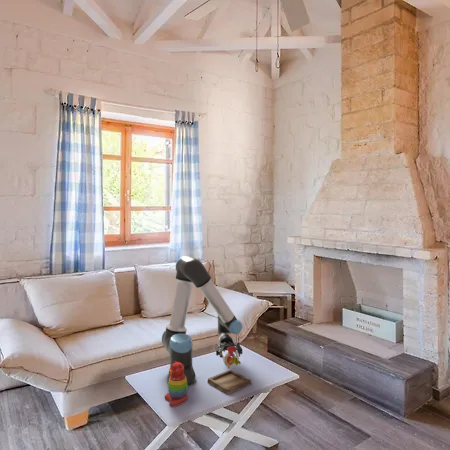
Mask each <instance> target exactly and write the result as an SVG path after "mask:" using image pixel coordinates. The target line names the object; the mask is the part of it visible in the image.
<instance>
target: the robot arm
mask: <svg viewBox="0 0 450 450" xmlns="http://www.w3.org/2000/svg"><path fill="white" fill-rule="evenodd" d="M175 271H176V273H175V281H176V282H177V284H176V289H175V292H174V293H175V294H174V299H173V303H172V304H173V305H172V309H171V313H170V314H171V315H170V320H169V324H168V325H166V327H165V331H163V332H162V335H161V344H162V346H163V347H164V349H165V350H166V351H167V353H168V354H169V363H170V364H169V365H170V367H171V365H172V364H173V363H174V362H175V361H177V362H180V363H182V364H183V365H184V374H185V376H186V378H187V383H188V387H189V386H192V385H193V384H195V383H196V380H197V377H196V371H195V369H194V366H193V345H194V344H193V338H192V336H190V335H189V334H187V328H186V326H185V325H186V322H187V321H186V320H187V315H188V311H189V305H190V301H191V300H190V299H191V295H192V288H193V285H194V286H195V288H197V289H199V290H200V291H201V293H202V294H203V296H204V297H205V298H206V300H207V301H208V303H209V304H210V306H211V307H212V309H213V311H214V312H215V313H216V314H217V332H216V333H217V338H218V341H219V344H217V343H216V344H215V345H214V346H215V348H214V349H215V356H217V357H218V356H219V358H220V359H221V358H222V362H225V352H226V351H228V350H227V347H230V346H232V347H233V346H234V348H236V350H235V351H234V352H233V353H234V354H235V356H236V358H237V360H238V361H240V357H241V355H243V348H242V346H241V345H240V342H236V343H235V342H234V340H233V338H232V335H231V334H233V335H238V334H241V331H242V330H243V327H244V326H243V323H242V322H241V321H240V320H239V319H237V317H236V315H235V314H234V312H233V311H232V309H231V308H230V306H229V305H228V304H227V301H225V299H224V297H223V296H222V294H221V293H220V292H219V290H218V289H217V287H216V286H215V284H214V283H213V281H212V276H211V274H210V273H209V272H208V270H207V269H206V267H205V265H204V264H203V262H202V261H201V260H199V259H197V258H195V257H193V256H190V255H184V256H181V257H180V258H178V259H177V260H176V262H175ZM170 367H169V368H170ZM170 375H171V374H170V373H169V372H168V374H167V377H166V383H167V384H168V382H169V378H170Z"/></svg>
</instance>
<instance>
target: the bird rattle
mask: <svg viewBox="0 0 450 450" xmlns="http://www.w3.org/2000/svg"><path fill="white" fill-rule="evenodd" d="M235 350H236V348H234V346H233V347H232V346H230V347H227V350H226V351H228V352H226V354H224V356H225V362H224V365H225V366H226V367H227V368H228V369H230V368H231V367H233V366H234V365H235V366H236V367H238V366H239V365H240V364H241V363H242V362H241V360H239V361H238V360H237V357H236V353H234V351H235Z"/></svg>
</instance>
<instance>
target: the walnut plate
mask: <svg viewBox="0 0 450 450" xmlns="http://www.w3.org/2000/svg"><path fill="white" fill-rule="evenodd" d="M207 384H209V385H211V386H213V387H214V388H216V389H218V390H219V391H220V392H223V393H225V394H226V395H230V394H232V393H235V392H236V391H239V390H241V389H244V388H245V387H248V386H250V385H252V380H251V379H250V378H248V377H247V376H244V375H243V374H240V373H239V372H236V371H234V370H233V369H230V368H229V369H228V370H225V371H223V372H220V373H218V374H216V375H214V376H211V377H208V378H207Z"/></svg>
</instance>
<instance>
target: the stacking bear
mask: <svg viewBox="0 0 450 450" xmlns="http://www.w3.org/2000/svg"><path fill="white" fill-rule="evenodd" d="M168 373H170V374H171V375H170V378H169V382H168V383H167V390H168V392H167V393H165V395H164V399H165V400H167V401H168V402H169V404H168V405H169V406H170V407H177V406H180V405H183V404H184V403H186V401H187V400H188V395H187V393H188V389H189V388H188V387H189V386H188V383H187V378H186V376H185V374H184V365H183V364H182V363H180V362H177V361H175V362H174V363H173V364H172V365H171V367H169V369H168Z"/></svg>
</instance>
